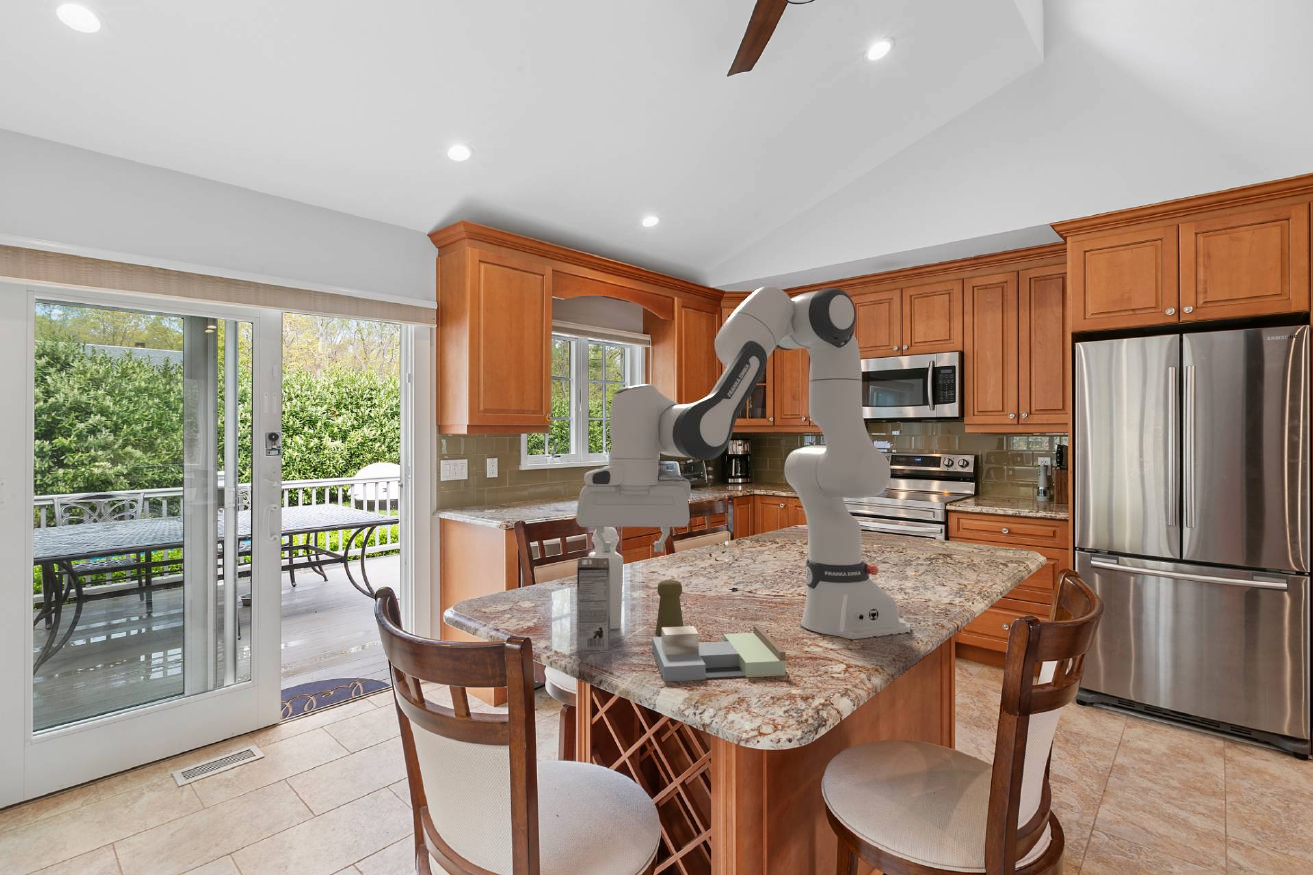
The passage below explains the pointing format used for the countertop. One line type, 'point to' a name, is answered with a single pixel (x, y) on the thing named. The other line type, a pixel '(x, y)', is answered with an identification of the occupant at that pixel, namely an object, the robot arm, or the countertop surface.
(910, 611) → the countertop surface
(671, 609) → the cork
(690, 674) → the track
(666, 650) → the cream block
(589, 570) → the coffee box
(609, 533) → the white peg figure
